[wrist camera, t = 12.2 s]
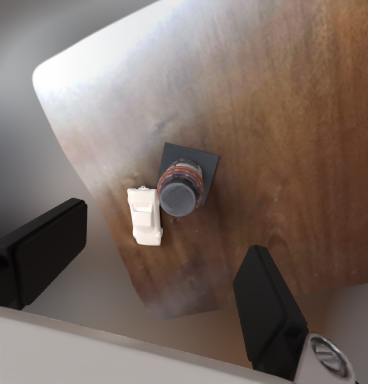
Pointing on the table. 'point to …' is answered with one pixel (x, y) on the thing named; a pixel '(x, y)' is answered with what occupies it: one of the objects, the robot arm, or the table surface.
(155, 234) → the toy car
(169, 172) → the supplement bottle
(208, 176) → the mat
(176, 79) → the table surface
